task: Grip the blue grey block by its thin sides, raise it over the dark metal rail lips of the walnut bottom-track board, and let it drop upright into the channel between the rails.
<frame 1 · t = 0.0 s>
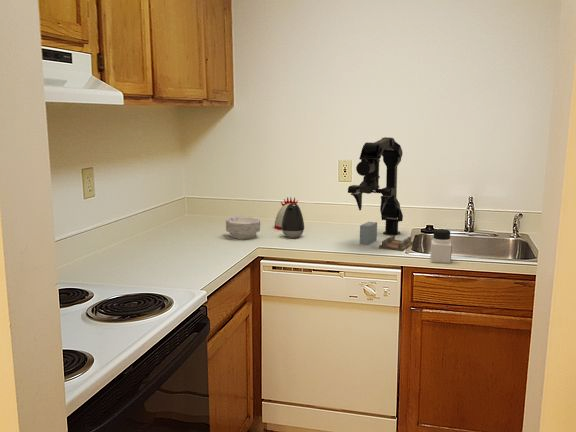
hand: (370, 211, 243), 15 cm above the worktop, fingers open, 9 cm apart
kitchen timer: (289, 228, 282), on the worktop
grey stone bowl: (243, 237, 261), on the worktop
medicine bottle: (440, 261, 223), on the worktop
black grey egg shape: (292, 237, 262), on the worktop
track board: (396, 246, 245), on the worktop
blue grey block: (368, 242, 253), on the worktop
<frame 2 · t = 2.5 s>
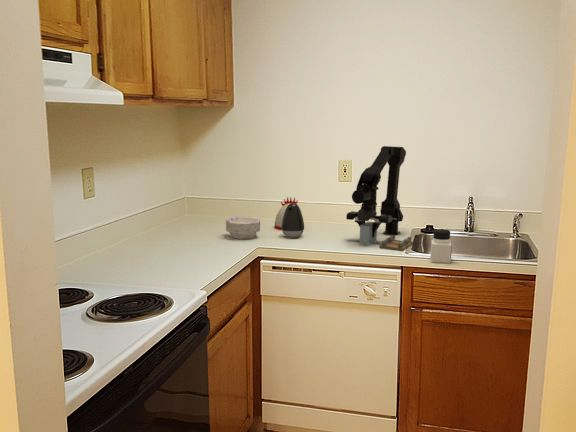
hand: (368, 236, 252), 2 cm above the worktop, fingers closed on blue grey block, 4 cm apart
blue grey block: (368, 242, 253), on the worktop, touching gripper
everything else where it was.
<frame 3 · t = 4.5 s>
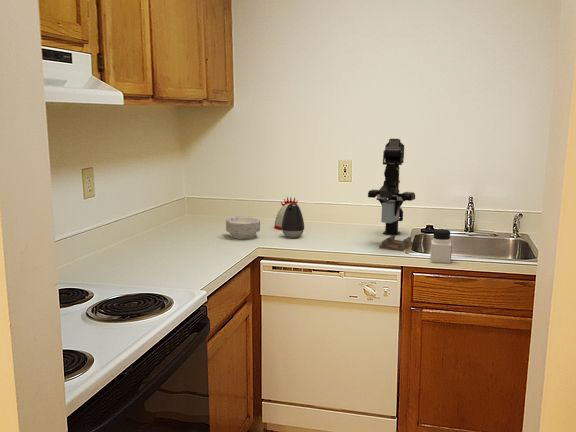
hand: (390, 215, 245), 13 cm above the worktop, fingers closed on blue grey block, 4 cm apart
blue grey block: (390, 220, 245), point 10 cm above the worktop, touching gripper
everything else where it was.
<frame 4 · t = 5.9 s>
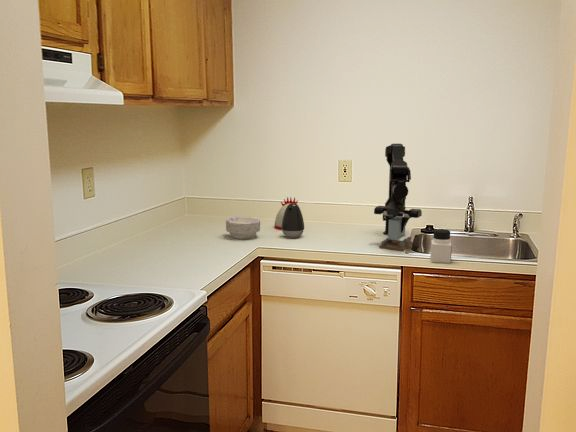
hand: (396, 232, 244), 6 cm above the worktop, fingers closed on blue grey block, 4 cm apart
blue grey block: (396, 237, 245), point 4 cm above the worktop, touching gripper
everything else where it was.
when the fingers open (5 cm above the worktop, at t = 6.9 s): blue grey block drops 1 cm, resting on track board.
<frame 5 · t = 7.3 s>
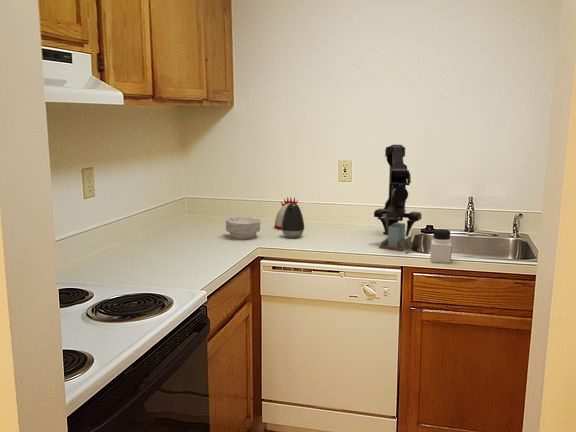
hand: (396, 235, 244), 5 cm above the worktop, fingers open, 8 cm apart
blue grey block: (396, 243, 245), point 1 cm above the worktop, touching track board
everything else where it was.
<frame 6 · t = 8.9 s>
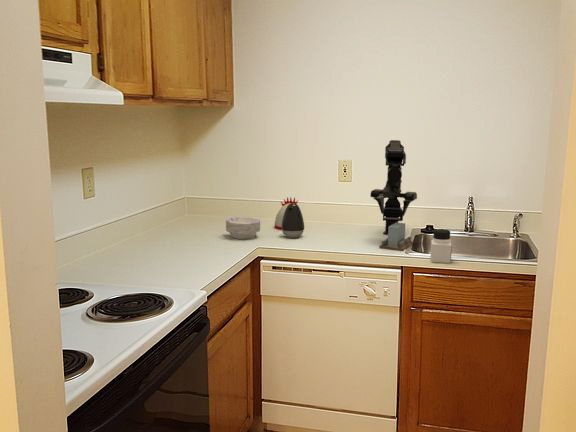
hand: (392, 214, 250), 12 cm above the worktop, fingers open, 9 cm apart
nothing on the worktop moved.
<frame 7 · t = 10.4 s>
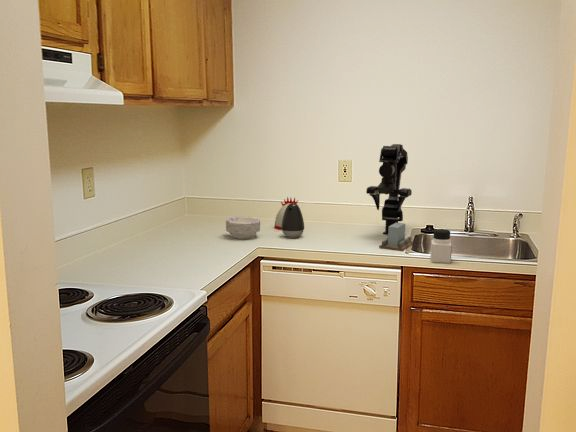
hand: (388, 210, 257), 13 cm above the worktop, fingers open, 9 cm apart
nothing on the worktop moved.
at the end: blue grey block 0.0 cm off-centre on the track board, point 1.0 cm above the track board's base; blue grey block tilted 0°; the gripper is holding nothing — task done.
